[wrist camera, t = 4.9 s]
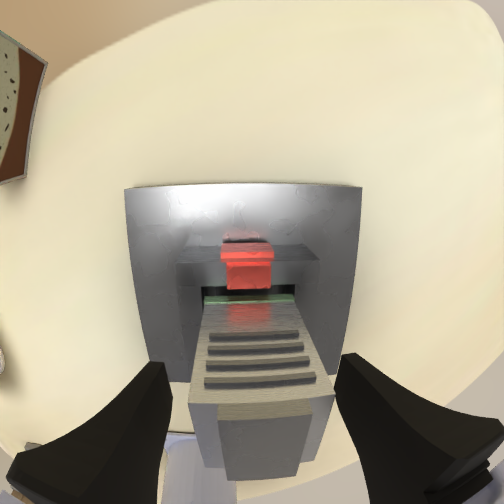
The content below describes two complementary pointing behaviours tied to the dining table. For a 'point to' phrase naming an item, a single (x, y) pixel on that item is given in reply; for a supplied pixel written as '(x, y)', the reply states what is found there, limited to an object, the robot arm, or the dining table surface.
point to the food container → (17, 105)
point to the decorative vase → (1, 361)
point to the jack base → (241, 258)
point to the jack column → (257, 388)
